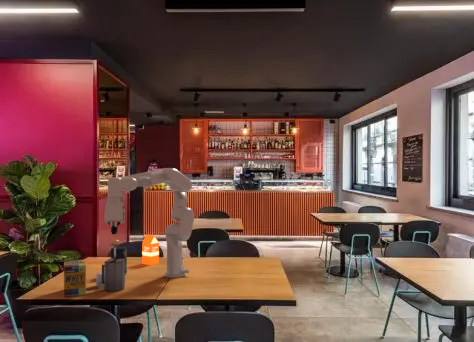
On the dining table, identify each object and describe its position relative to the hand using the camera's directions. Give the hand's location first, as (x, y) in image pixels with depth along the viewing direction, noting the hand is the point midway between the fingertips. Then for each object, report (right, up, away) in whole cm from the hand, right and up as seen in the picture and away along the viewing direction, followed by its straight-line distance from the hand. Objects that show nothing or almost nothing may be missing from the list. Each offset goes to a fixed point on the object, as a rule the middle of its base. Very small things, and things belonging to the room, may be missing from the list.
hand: (114, 233), depth 215 cm
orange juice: (+6, -31, +63) cm, 70 cm away
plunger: (0, -17, 0) cm, 17 cm away
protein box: (-19, -30, -6) cm, 36 cm away
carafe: (0, -30, 0) cm, 30 cm away
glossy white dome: (-8, -30, +6) cm, 32 cm away
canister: (-7, -31, +31) cm, 44 cm away
